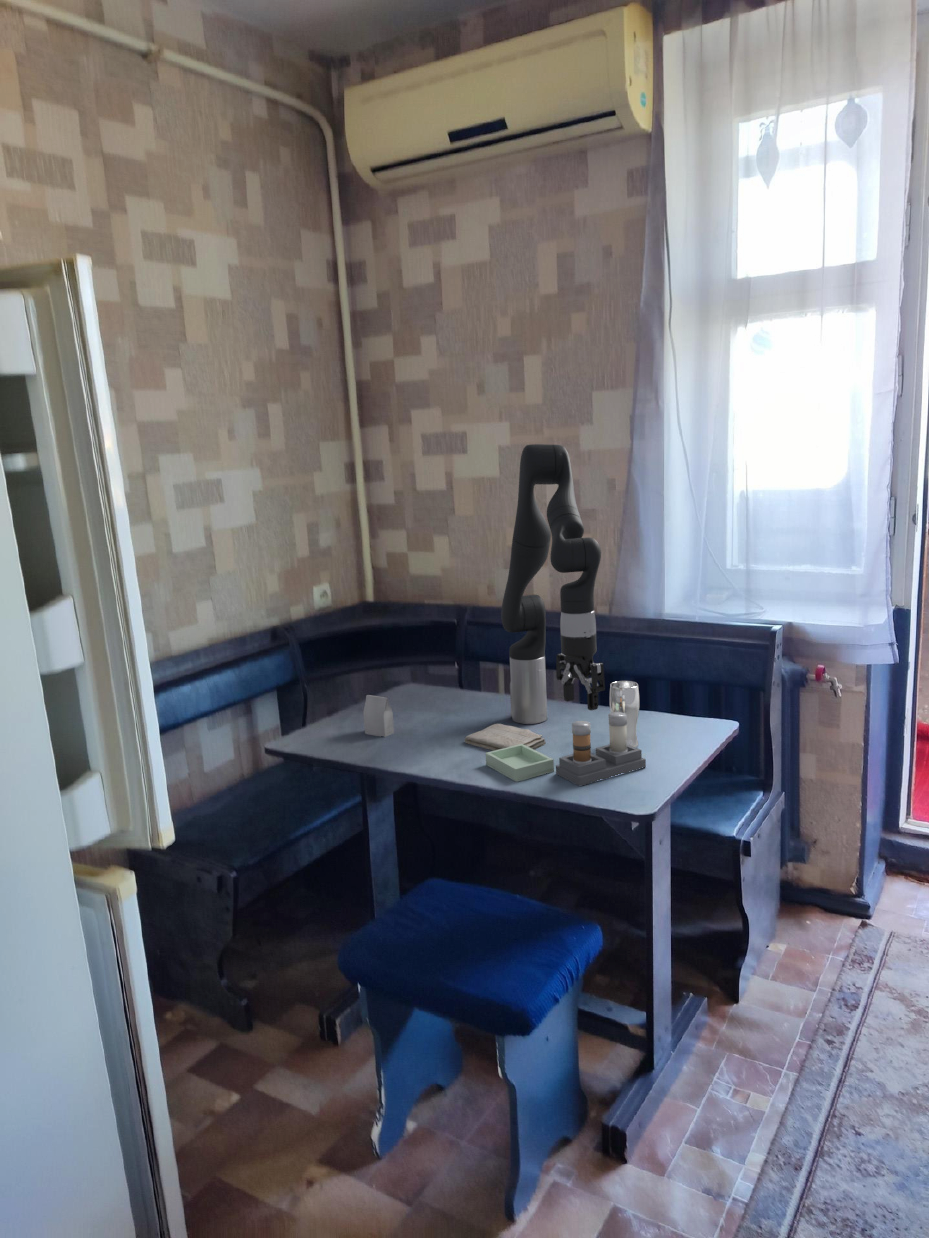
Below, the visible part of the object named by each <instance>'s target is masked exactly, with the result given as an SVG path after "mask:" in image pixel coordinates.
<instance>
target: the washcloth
mask: <svg viewBox="0 0 929 1238" xmlns="http://www.w3.org/2000/svg"><path fill="white" fill-rule="evenodd" d="M542 736H543V735H542V734H538V733H535V732H534V731H533V732H532V731H531V730H530V729H529V728H519V727H517V726H513V725H506V724H502V723H493V724H492V725H490V726H487V727H486V728H483V729H482V730H479V731H475V732H473V733H471V734H467V736H465V737H464V743H465V744H468V745H471V746H475V747H477V748H478V747H480V748H482V749H486V750H490V751H495V750H499V749H503V748H507V747H511V746H515V745H519V744H523V745H526V746H528V747H530V748H532V749H534V750H536V749H538V748H540V747H542V746H545V745H546V744H547V741H546V739H545V738H543V737H542Z"/></svg>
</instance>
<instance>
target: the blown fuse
mask: <svg viewBox="0 0 929 1238" xmlns="http://www.w3.org/2000/svg"><path fill="white" fill-rule="evenodd" d="M591 729H592V727H591V722H590V721H586V720H577V721H573V722H572V723H571V733H572V749H573V750H572V751H573V752H572V753H573V762H575V763H577V764H579V765H581V764H584V763H588V762H592V760H591V753H592V751H591V750H592V746H591V745H592V744H591V743H592V742H591V733H592V732H591Z"/></svg>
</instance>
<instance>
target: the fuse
mask: <svg viewBox="0 0 929 1238" xmlns="http://www.w3.org/2000/svg"><path fill="white" fill-rule="evenodd" d="M626 724H627V714H625V713H622V712H613V713H611V712H609V713H608V731H609V735H608V736H609V744H610V749H609V752H611V753H614V754H616V755H617V754H621V753H625V752H628V751H627V726H626Z"/></svg>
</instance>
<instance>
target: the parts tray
mask: <svg viewBox="0 0 929 1238" xmlns="http://www.w3.org/2000/svg"><path fill="white" fill-rule="evenodd" d="M554 762H555V760H554V759H553V758H551V757H550V756H548V755H546V754H544V753H542V752H540V751H537V750H536V749H532V748H530V747H528V746H526V745H523V744H519V745H515V746H511V747H507V748H503V749H499V750H495V751H494V750H490V751H488V752H485V765H486V766H487V767H489V768H491V769H493V770H495V771H496V772H498V773H500V774H501V775H503V776H505V777H507V778H509V779H511V780H512V781H514V782H521V781H526V780H528V779H533V778H535V777H539V776H542V775H546V773H547V774H550V773H554V772H555V763H554Z"/></svg>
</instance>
